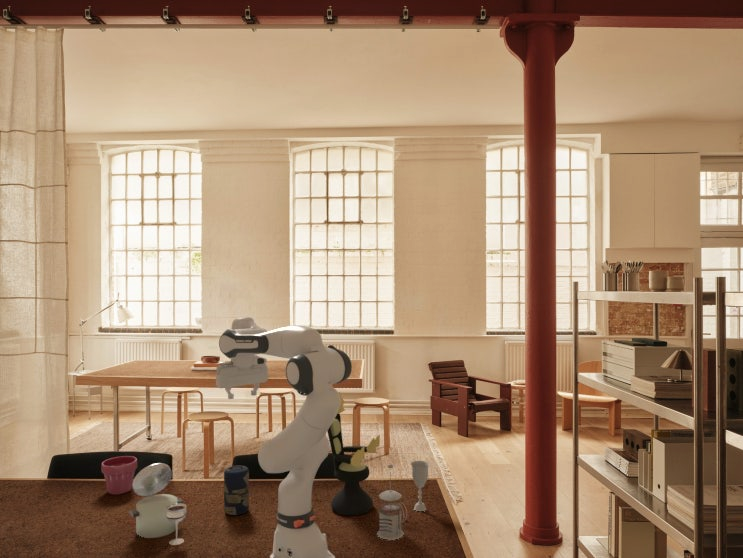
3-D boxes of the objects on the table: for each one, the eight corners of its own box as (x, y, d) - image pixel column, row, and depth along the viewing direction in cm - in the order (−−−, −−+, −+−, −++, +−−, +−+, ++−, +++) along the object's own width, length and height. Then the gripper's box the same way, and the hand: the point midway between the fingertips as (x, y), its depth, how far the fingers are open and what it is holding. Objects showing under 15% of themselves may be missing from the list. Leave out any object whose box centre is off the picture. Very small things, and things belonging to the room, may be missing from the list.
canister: (242, 518, 215) (242, 470, 214) (219, 515, 216) (219, 469, 216) (253, 507, 224) (252, 462, 224) (230, 506, 226) (230, 461, 226)
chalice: (408, 510, 221) (407, 464, 221) (414, 504, 227) (414, 459, 227) (425, 514, 217) (425, 467, 217) (431, 507, 223) (431, 462, 223)
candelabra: (365, 521, 211) (364, 401, 211) (311, 513, 218) (310, 397, 218) (380, 502, 229) (380, 391, 229) (330, 495, 236) (330, 388, 236)
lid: (174, 461, 210) (172, 457, 212) (136, 469, 201) (134, 465, 203) (169, 490, 215) (167, 486, 217) (130, 500, 206) (129, 495, 207)
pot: (188, 528, 206) (188, 501, 206) (138, 543, 194) (137, 514, 194) (174, 516, 216) (174, 490, 216) (125, 529, 205) (125, 502, 205)
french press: (387, 525, 208) (387, 457, 208) (413, 534, 200) (413, 464, 200) (370, 535, 200) (370, 464, 200) (397, 544, 193) (397, 471, 193)
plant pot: (101, 487, 246) (101, 458, 246) (136, 482, 252) (136, 453, 252) (101, 499, 233) (101, 468, 233) (138, 493, 239) (137, 463, 239)
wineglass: (189, 536, 199) (189, 503, 199) (183, 546, 192) (183, 511, 192) (169, 537, 199) (169, 503, 199) (163, 546, 192) (163, 511, 192)
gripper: (220, 364, 203) (220, 402, 203) (270, 358, 216) (270, 394, 216) (212, 362, 208) (212, 399, 208) (262, 356, 221) (262, 391, 221)
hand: (242, 396), depth 212 cm, fingers open, 8 cm apart
